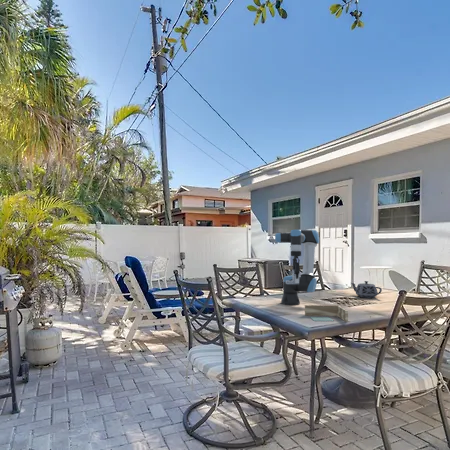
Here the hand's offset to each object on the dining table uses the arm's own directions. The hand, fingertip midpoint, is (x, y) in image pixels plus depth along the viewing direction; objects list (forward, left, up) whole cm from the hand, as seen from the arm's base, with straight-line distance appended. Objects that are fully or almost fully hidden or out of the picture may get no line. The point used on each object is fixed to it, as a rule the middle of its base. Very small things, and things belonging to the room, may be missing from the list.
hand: (296, 282), depth 239 cm
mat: (+18, +13, -22) cm, 31 cm away
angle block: (0, -3, -1) cm, 3 cm away
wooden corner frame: (+14, +17, -22) cm, 31 cm away
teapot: (-70, +80, -22) cm, 109 cm away
